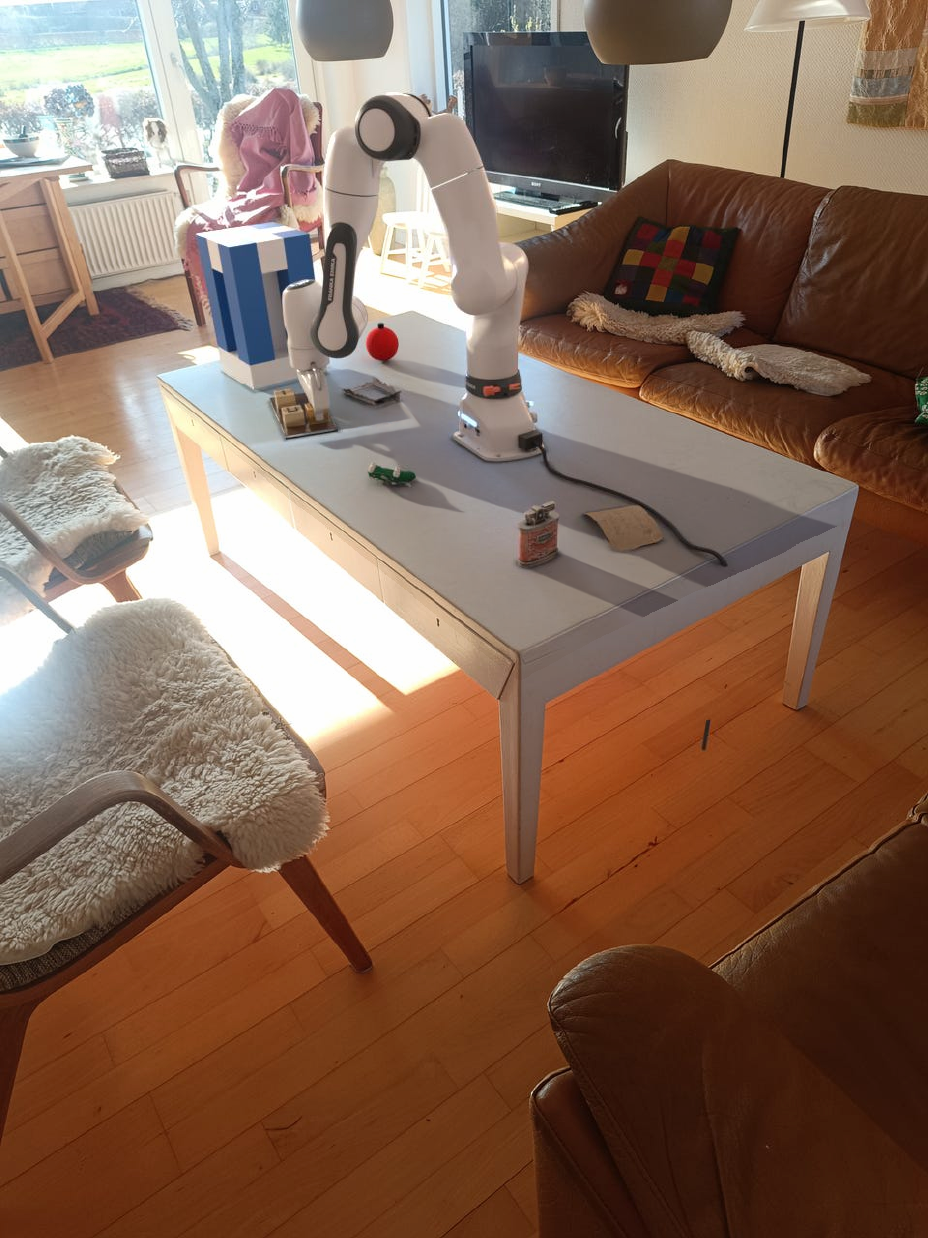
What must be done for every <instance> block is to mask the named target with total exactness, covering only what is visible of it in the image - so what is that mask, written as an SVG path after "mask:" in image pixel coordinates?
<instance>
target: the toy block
mask: <svg viewBox="0 0 928 1238" xmlns="http://www.w3.org/2000/svg"><path fill="white" fill-rule="evenodd" d="M195 237H196V243H197V247H198V248H197V249H198V253H199V257H200V263H201V268H202V272H203V274H202V275H203V278H204V283H205V288H206V294H207V297H208V304H209V309H210V314H211V319H212V324H213V329H214V335H215V340H216V344H217V349H218V350H217V351H218V354H219V355H218V356H219V360H220V365H221V370H222V372H223V373H224V374H225V375H227V376H229V377H230V378H232V379H233V380H235V381H236V382H238V383H239V384H240V385H247V386H248V387H250V388H251V389H253V390H256V389H260V388H264V387H268V386H272V385H276V384H280V383H284V382H288V381H293V380H296V379H298V376H297V372H296V369H294V368H292V367H291V365H290V358H289V351H288V344H287V342H288V333H287V330H286V328H285V324H284V316H283V303H282V298H283V292H284V290H285V289H286V288H287V287H288V286H289V285H290V284H292V283H294V282H297V281H300V280H305V279H312V280H316V275H315V266H314V259H313V250H312V243H311V234H310V233H309V232H305V231H302V230H299V229H297V228H294V227H290V226H287V225H284V224H280V223H278V222H274V221H270V222H269V221H268V222H264V223H257V224H251V225H244V226H237V227H231V228H224V229H219V230H212V231H205V232H199V233H195ZM327 372H328V369H327V366H325V371H324V372H323V373H324V374H325V373H327Z"/></svg>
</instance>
